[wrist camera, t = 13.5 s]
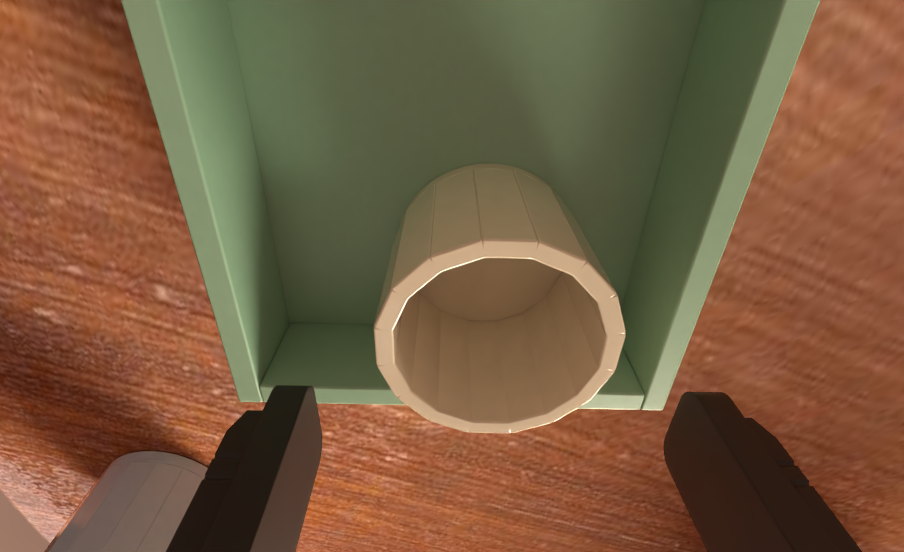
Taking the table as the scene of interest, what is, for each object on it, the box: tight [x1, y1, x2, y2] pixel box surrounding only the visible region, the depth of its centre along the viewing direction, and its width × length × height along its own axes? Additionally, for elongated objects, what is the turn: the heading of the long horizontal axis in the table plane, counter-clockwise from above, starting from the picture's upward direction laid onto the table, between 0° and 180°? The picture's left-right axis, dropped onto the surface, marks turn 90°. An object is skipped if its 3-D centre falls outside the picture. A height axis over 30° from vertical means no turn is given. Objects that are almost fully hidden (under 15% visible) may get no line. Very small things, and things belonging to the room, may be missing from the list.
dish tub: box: [121, 0, 820, 410], centre depth 13 cm, size 15×17×4 cm
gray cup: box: [45, 451, 208, 552], centre depth 23 cm, size 6×6×6 cm
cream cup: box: [373, 163, 626, 433], centre depth 14 cm, size 6×6×6 cm
